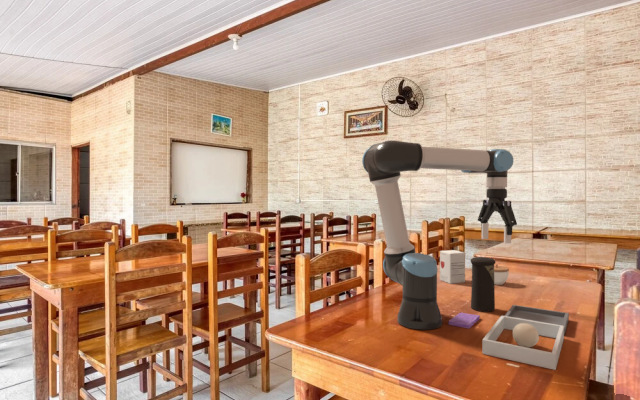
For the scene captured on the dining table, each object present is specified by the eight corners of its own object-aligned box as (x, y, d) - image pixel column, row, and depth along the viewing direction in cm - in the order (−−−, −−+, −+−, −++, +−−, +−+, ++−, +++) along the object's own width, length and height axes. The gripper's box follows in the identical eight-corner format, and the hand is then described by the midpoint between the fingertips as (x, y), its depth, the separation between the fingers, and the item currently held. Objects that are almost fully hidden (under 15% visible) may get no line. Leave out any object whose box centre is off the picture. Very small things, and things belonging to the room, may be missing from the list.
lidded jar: (479, 282, 199) (479, 263, 198) (495, 280, 203) (495, 261, 203) (497, 287, 189) (497, 267, 188) (513, 284, 193) (513, 265, 193)
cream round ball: (529, 340, 123) (529, 319, 123) (543, 350, 116) (543, 327, 116) (507, 341, 123) (507, 319, 123) (520, 351, 116) (520, 328, 115)
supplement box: (439, 279, 204) (439, 250, 204) (454, 278, 207) (454, 249, 206) (450, 284, 195) (450, 253, 195) (465, 282, 198) (465, 252, 198)
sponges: (448, 326, 138) (448, 320, 138) (460, 316, 148) (460, 311, 148) (469, 330, 134) (469, 324, 134) (479, 320, 144) (480, 314, 144)
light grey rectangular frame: (555, 370, 104) (555, 354, 103) (482, 353, 114) (482, 339, 114) (563, 338, 125) (563, 325, 125) (501, 327, 135) (501, 315, 135)
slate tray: (564, 335, 127) (564, 327, 127) (503, 324, 138) (503, 317, 138) (568, 320, 142) (568, 313, 142) (512, 311, 152) (512, 304, 152)
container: (497, 312, 150) (497, 259, 150) (472, 311, 152) (472, 259, 152) (492, 306, 159) (492, 255, 158) (468, 305, 161) (468, 255, 160)
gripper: (528, 188, 150) (526, 245, 150) (484, 188, 174) (483, 237, 174) (510, 188, 148) (509, 245, 148) (469, 188, 172) (468, 237, 173)
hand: (495, 241), depth 161 cm, fingers open, 13 cm apart
